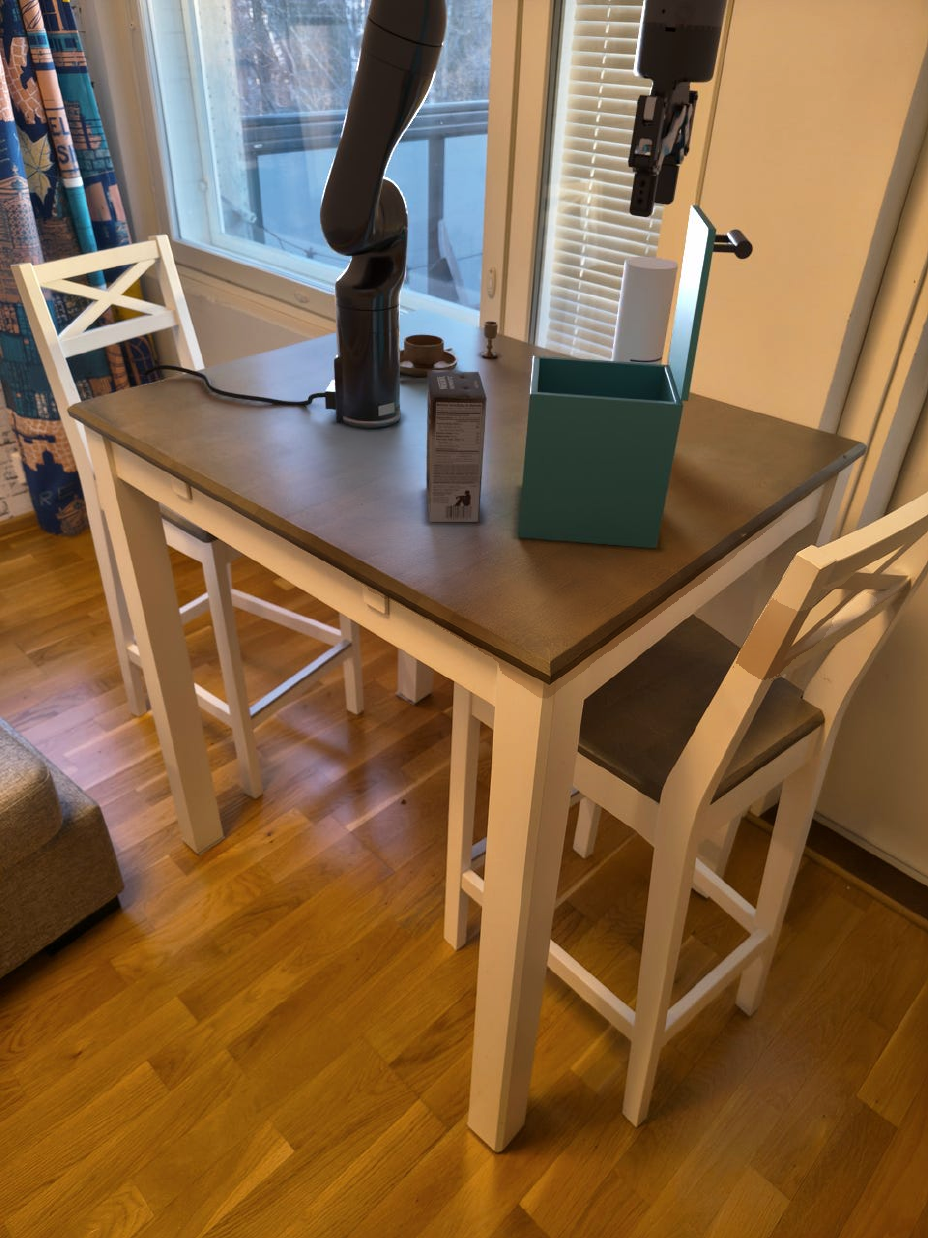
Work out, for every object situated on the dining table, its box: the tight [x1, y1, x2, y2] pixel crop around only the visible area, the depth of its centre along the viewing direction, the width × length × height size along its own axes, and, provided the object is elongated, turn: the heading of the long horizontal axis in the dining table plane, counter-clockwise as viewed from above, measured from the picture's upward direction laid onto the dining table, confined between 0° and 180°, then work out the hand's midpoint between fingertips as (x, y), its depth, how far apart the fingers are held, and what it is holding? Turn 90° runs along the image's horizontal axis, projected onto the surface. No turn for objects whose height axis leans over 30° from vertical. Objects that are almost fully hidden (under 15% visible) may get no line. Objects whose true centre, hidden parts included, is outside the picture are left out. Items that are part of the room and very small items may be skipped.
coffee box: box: [425, 370, 488, 523], centre depth 108 cm, size 9×6×16 cm
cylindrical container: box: [610, 256, 679, 364], centre depth 127 cm, size 7×7×25 cm
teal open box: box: [517, 355, 684, 549], centre depth 107 cm, size 17×14×18 cm
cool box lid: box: [667, 204, 754, 402], centre depth 96 cm, size 17×14×5 cm
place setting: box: [400, 320, 499, 382], centre depth 155 cm, size 18×20×6 cm
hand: (651, 209), depth 91 cm, fingers open, 8 cm apart
